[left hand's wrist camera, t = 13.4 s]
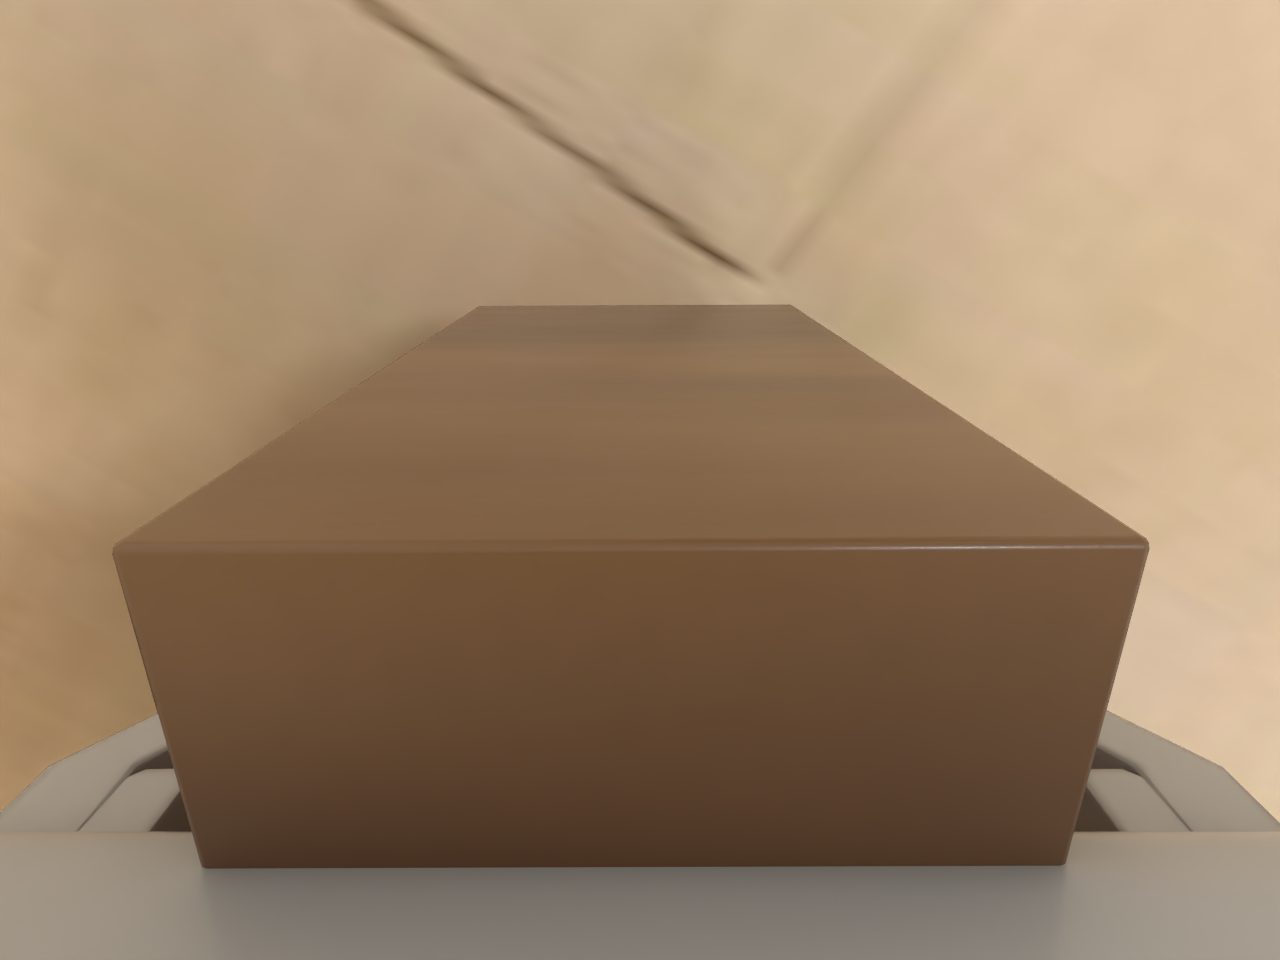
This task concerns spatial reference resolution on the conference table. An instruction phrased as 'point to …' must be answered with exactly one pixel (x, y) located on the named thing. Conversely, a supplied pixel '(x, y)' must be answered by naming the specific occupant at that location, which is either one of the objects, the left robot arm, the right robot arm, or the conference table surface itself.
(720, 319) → the box
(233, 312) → the conference table surface
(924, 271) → the conference table surface
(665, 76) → the conference table surface
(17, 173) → the conference table surface
